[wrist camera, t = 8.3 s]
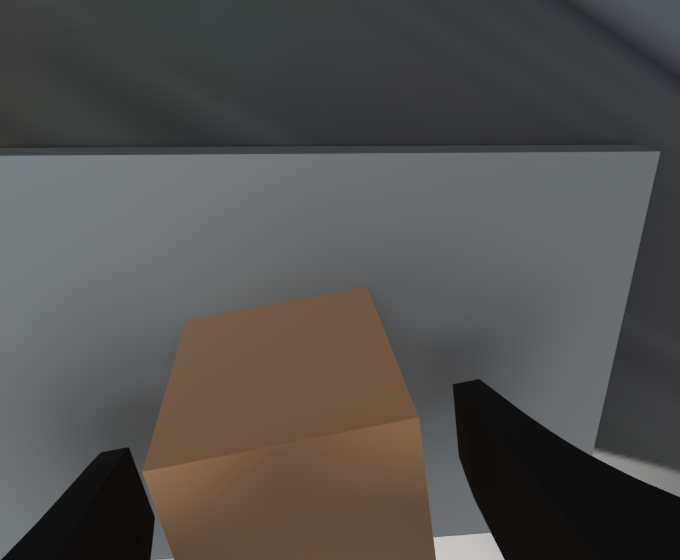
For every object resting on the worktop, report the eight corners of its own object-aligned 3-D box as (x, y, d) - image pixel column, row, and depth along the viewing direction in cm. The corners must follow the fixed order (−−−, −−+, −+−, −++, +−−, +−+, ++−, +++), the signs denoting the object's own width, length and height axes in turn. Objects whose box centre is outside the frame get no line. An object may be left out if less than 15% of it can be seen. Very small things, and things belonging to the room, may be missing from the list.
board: (636, 144, 15) (754, 179, 11) (562, 502, 20) (629, 609, 16) (-112, 148, 13) (-259, 192, 9) (1, 545, 18) (-70, 678, 14)
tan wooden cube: (367, 286, 15) (419, 417, 10) (388, 432, 16) (440, 606, 11) (186, 320, 14) (142, 471, 9) (228, 464, 16) (209, 655, 11)
